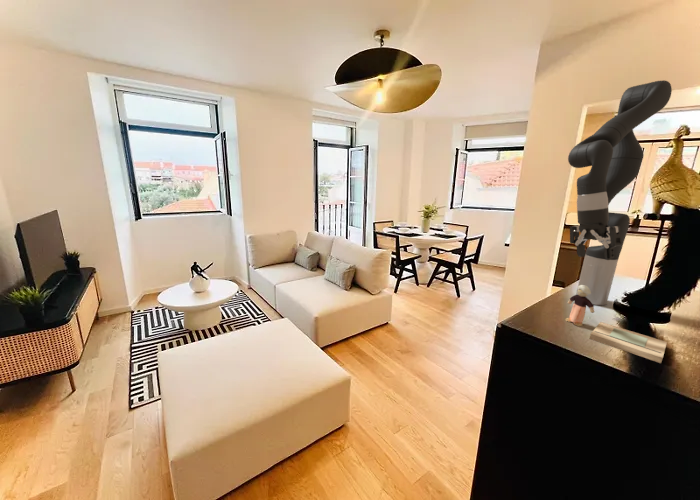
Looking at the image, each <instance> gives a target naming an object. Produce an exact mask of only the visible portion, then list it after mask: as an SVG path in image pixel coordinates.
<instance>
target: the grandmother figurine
mask: <svg viewBox="0 0 700 500" xmlns="http://www.w3.org/2000/svg"><path fill="white" fill-rule="evenodd" d="M577 288H578V292H577V291H576V292H577V293H578V295H576V294H574V295H573V296H571V297H570V298H569V299H568V301H567V304H568V305H571V304H572V303H573V305H572V307H571V311H570V313H569V317H566V318H564V320H565V321H566V322H567V321H568V323H573V325H575V326H576V327H582V326H584V324H583V322H584V319H585V316H586V308H587V307H588V309H589V312H590V313H592V314H593V313H595V308H594V307H595V306H594V305H595V304H592V303H591V301H590V300H589V299H587V298H586V297H585V296H587V295H589V294H591V291H590V289H589V288H588V287H587V286H585V285H579V286H578V285H577Z"/></svg>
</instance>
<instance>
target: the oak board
mask: <svg viewBox="0 0 700 500" xmlns="http://www.w3.org/2000/svg"><path fill="white" fill-rule="evenodd" d="M589 340H593V341H595V342H598V343H601V344H605V345H606V346H609V347H613V348H616V349H618V350H621V351H624V352H626V353H630V354H633V355H636V356H639V357H641V358H645V359H646V360H650V361H653V362H656V363H659V364H662V361H663V358H664V354H665V351H666V347H667V344H668V342H667V341H665V340H661V339H658V338H655V337H652V336H649V335H645V334H641V333H639V332H635V331H631V330H628V329H625V328H622V327H619V326H615V325H612V324H608V323H606V322H602V321H600V322H599V323H598V324H597V326H596V327H595V328H594V329H593V330H592V332H591V333H590V335H589Z"/></svg>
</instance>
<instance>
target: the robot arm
mask: <svg viewBox="0 0 700 500" xmlns="http://www.w3.org/2000/svg"><path fill="white" fill-rule="evenodd" d="M671 97H672V85H671V83H670V81H668V80H666V79H665V80H656V81H652V82H648V83H642V84H638V85H634V86H629V87H628V88H627V89H625V91H624V92H623V93H622V95H621V98H620V101H619V105H618V110H617V114H616V116H614V117H612V118H610V119H608V120H607V121H606V122H605V123H604V124H602V126H600V128H599V129H597V131H596V132H594V133H593V134H591V135H590V136H588V137H587V138H585V139H584V140H581V141H580V142H579V143H578V144H575V146H574V147H573V148H571V150H570V152H569V154H568V157H567V161H568V164H569V165H570V166H571V167H573V168H575V169H582V168H583V169H584V168H587V167H590V170H589V172H588V173H586V174H583V175H581V176H579V177H578V178H577V179H576V193H577V194H576V196H577V198H576V213H577V223H578V224H579V225H573V226H571V225H570V227H569V242H570V244H571V245H572V244H573V245H575V246H576V254H577V256H578V257H580V258H584V259H583V262H582V267H581V272H580V274H579V280H578V285H577V289H576V292H575V293H576V294H575V295H578V293H577V292H578V286H579V285H585V286H587V287H588V288H589V289H590V291H591V294H589V295H587V296H585V297H586V298H587V299H589V300H590V301H591V303H592V304H593V305H595V306H596V305H597V306H606V305H607V304H608V300H609V296H610V294H611V289H612V285H613V281H614V278H615V277H614V276H615V273H616V269H617V266H618V261H619V257H620V255H621V252H622V249H623V247H624V246H623V245H624V244H625V240H626V236H627V234H628V231H629V228H630V222H631V219H630V216H629V215H628V214H627V213H622V212H621V213H619V212H610V211H609V205H610V203H611V202H612V200H613V199H614V198H615V197H616V196H617V195H618V194H619V193H620V192H621V191H624V189H625V188H626V187H628V186H629V185H630V184H631V183H632V182H633V181H634V180H635V179H636V177H638V175H639V173H640V169H641V166H642V164H643V163H642V162H643V159H644V150H643V148H642V146H641V144H640V142H639V140H638V139H637V137H636V135H635V133H634V129H635V128H636V127H639V126H640V125H642V124H643V123H644V122H645V121H647V120H648V119H650V118H652V117H653V116H655V114H657V113H659V112H661V110H663V109H664V108H665V106H666V105H667V104H668V103H669V101H670V99H671ZM588 240H592V241H598V242H599V243H600V244H601V245H592V246H588V247H587V248H586V245H585V243H586V242H587V241H588Z"/></svg>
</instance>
